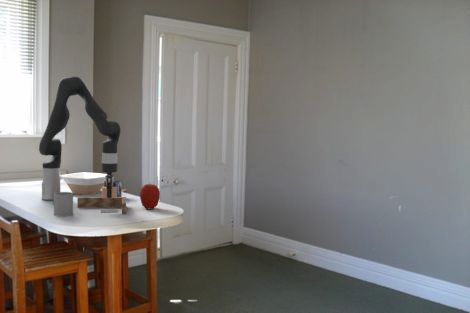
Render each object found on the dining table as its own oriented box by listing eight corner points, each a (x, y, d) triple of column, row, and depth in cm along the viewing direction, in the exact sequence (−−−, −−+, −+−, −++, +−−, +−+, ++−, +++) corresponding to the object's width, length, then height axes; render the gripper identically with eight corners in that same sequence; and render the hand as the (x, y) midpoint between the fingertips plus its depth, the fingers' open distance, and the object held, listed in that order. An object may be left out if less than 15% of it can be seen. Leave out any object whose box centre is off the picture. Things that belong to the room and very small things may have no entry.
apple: (147, 211, 255) (147, 183, 254) (135, 208, 262) (136, 181, 260) (163, 209, 262) (164, 182, 261) (151, 206, 269) (152, 180, 268)
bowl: (56, 193, 299) (56, 175, 298) (83, 188, 322) (83, 171, 321) (89, 197, 290) (89, 178, 289) (114, 191, 313) (115, 174, 312)
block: (116, 198, 250) (116, 187, 249) (101, 198, 248) (101, 187, 248) (116, 196, 254) (116, 186, 253) (102, 196, 252) (102, 186, 252)
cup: (56, 212, 245) (56, 191, 245) (74, 212, 246) (74, 192, 245) (52, 216, 237) (52, 194, 236) (70, 216, 238) (70, 195, 237)
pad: (100, 212, 248) (100, 211, 248) (101, 210, 253) (101, 209, 253) (117, 212, 250) (117, 211, 250) (117, 210, 255) (117, 209, 255)
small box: (114, 200, 283) (114, 181, 282) (103, 199, 284) (103, 180, 284) (122, 197, 293) (122, 179, 293) (111, 196, 295) (111, 178, 294)
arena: (74, 214, 241) (74, 204, 241) (77, 206, 261) (77, 197, 261) (125, 214, 247) (126, 203, 246) (125, 206, 266) (125, 196, 266)
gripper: (117, 163, 244) (117, 199, 245) (117, 160, 257) (117, 194, 259) (101, 163, 242) (100, 199, 243) (102, 160, 256) (102, 194, 257)
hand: (109, 196), depth 251 cm, fingers closed on block, 4 cm apart
